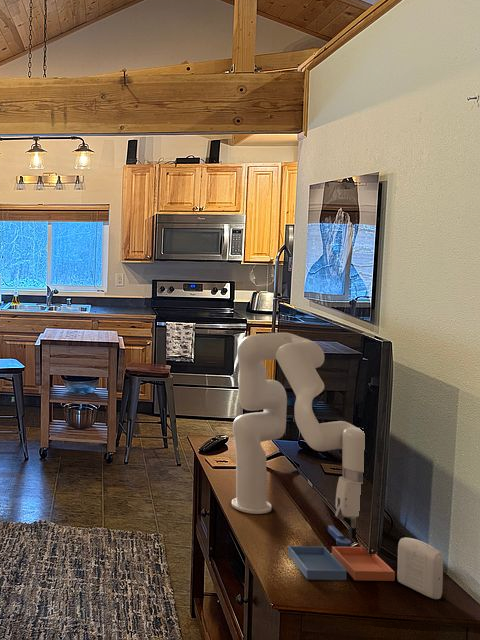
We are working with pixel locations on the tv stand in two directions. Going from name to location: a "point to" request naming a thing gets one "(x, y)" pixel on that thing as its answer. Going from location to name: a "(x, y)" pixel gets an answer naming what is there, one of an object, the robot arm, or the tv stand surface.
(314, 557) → the blue tray
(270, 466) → the tv stand surface
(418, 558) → the photo printer
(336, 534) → the blue spoon
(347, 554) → the terracotta tray
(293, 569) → the tv stand surface
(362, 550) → the terracotta spoon
